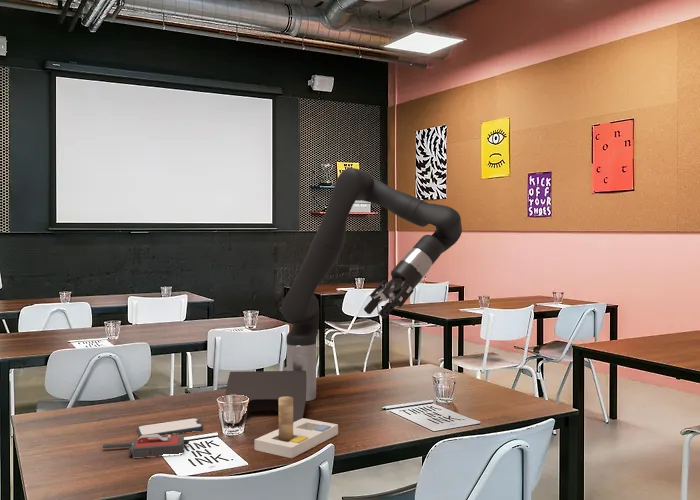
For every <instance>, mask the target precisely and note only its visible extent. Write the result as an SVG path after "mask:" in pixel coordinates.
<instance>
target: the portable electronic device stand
mask: <svg viewBox="0 0 700 500" xmlns="http://www.w3.org/2000/svg"><path fill="white" fill-rule="evenodd" d="M306 387H307V376H306V371H284V370H266V371H265V370H263V371H261V370H260V371H258V370H256V371H254V370H253V371H251V370H250V371H249V370H248V371H229V374H228V378H227V383H226V388H225V392H224V393H225V395H224V397H225V396H226V395H230V394H237V395H244V396H247V397H248V398H249V403H248V404H247V408H248V412H249V413H256V412H260V411H275V412H279V398H280V397H285V396H288V397H293V422H295V421H298V420H300V419H302V418H304V413H305V409H306V402H307V401H306Z"/></svg>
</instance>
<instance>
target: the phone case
mask: <svg viewBox="0 0 700 500" xmlns="http://www.w3.org/2000/svg"><path fill="white" fill-rule="evenodd" d="M201 430H204V424H202V422H201V421H200V420H199V418H188V419H179V420H174V421H166V422H161V423H154V424H153V423H151V424H146V425H139V426H138V427H137V428H136V432H137V431H138V432H137V435H138V434H139V435H138V437H139V436H141V435H151V434H159V435H165V434H173V433H183V432H192V431H200V432H202V431H201Z"/></svg>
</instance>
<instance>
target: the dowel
mask: <svg viewBox="0 0 700 500" xmlns="http://www.w3.org/2000/svg"><path fill="white" fill-rule="evenodd" d="M278 429H279V440H280V441H284V442H289V441H290V440H292V439H293V397H288V396H285V397H280V398H279V411H278Z"/></svg>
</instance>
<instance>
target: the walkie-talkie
mask: <svg viewBox="0 0 700 500" xmlns="http://www.w3.org/2000/svg"><path fill="white" fill-rule="evenodd" d="M189 443H190V440H187V439H185V436H172V435H168V436H163V437H162V436H160V435H159V434H151V435H141V436H140V437H139V436H138V438H137V439H135V440H134V441H129V442H128V441H127V442H126V441H125V442H113V443H104V444H103V445H102V448H103V449H114V448H116V449H117V448H128V447H129V450H128V452H129V453H128V455H129V456H130V457H131V455H132V457H146V456H159V455H163V454H179V453H183V454H184V451H183V449H185V446H186V445H189ZM132 457H131V458H132Z"/></svg>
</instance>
